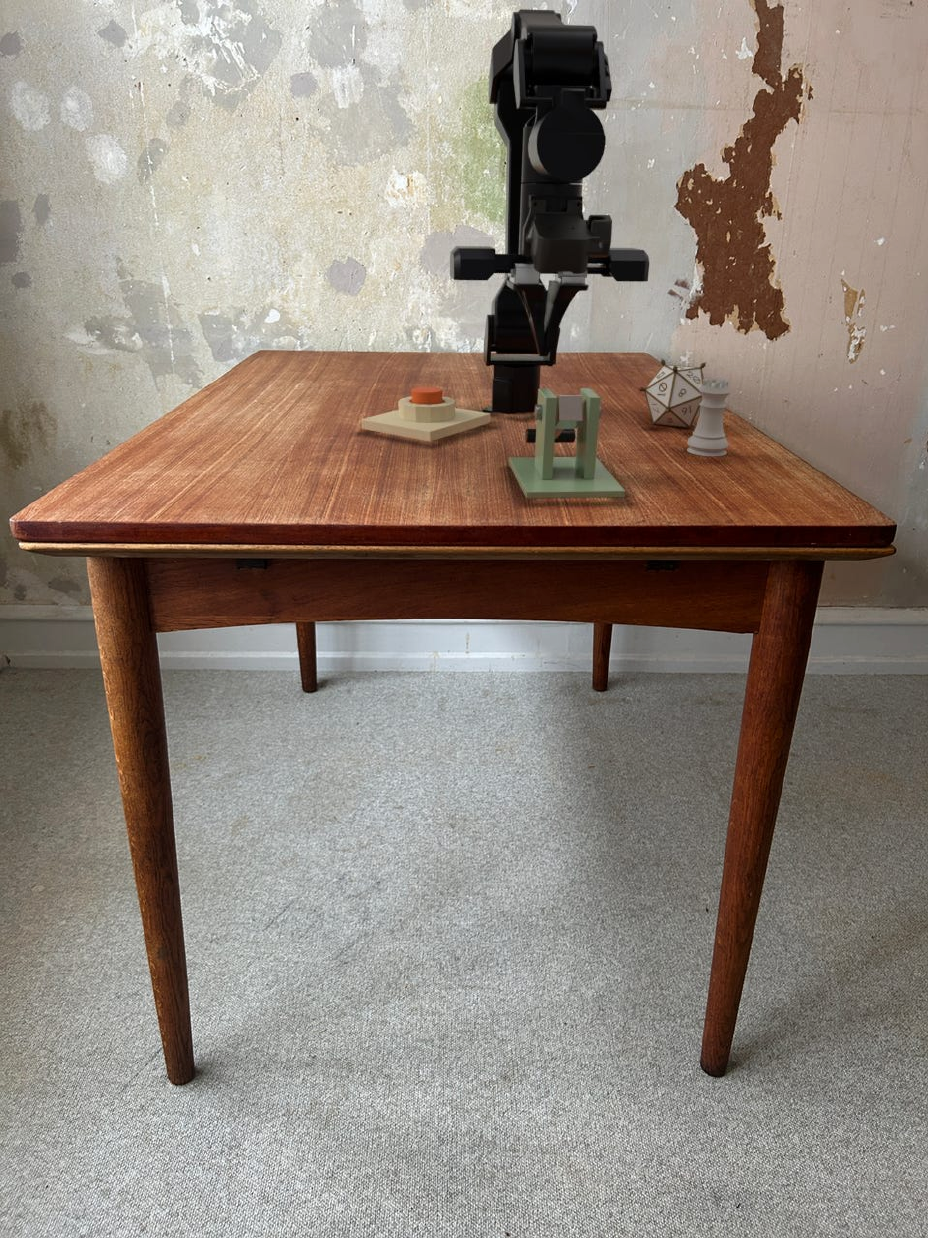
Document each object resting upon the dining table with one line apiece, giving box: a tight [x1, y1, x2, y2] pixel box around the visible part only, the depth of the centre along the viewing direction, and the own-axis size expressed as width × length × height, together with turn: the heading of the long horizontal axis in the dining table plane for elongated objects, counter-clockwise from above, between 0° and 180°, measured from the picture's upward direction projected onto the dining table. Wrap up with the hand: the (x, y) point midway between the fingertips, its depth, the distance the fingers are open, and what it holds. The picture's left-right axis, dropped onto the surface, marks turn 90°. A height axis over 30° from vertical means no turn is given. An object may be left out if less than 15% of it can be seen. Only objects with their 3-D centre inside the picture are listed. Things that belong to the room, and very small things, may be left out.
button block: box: [360, 395, 491, 442], centre depth 105 cm, size 12×10×4 cm
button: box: [410, 386, 443, 405], centre depth 104 cm, size 4×4×2 cm
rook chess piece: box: [686, 378, 732, 457], centre depth 94 cm, size 4×4×8 cm
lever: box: [524, 394, 583, 444], centre depth 87 cm, size 11×5×2 cm, turn 5°
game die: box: [637, 358, 707, 430], centre depth 106 cm, size 9×8×10 cm
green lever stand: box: [508, 387, 626, 499], centre depth 84 cm, size 12×9×9 cm
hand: (543, 355), depth 90 cm, fingers closed
